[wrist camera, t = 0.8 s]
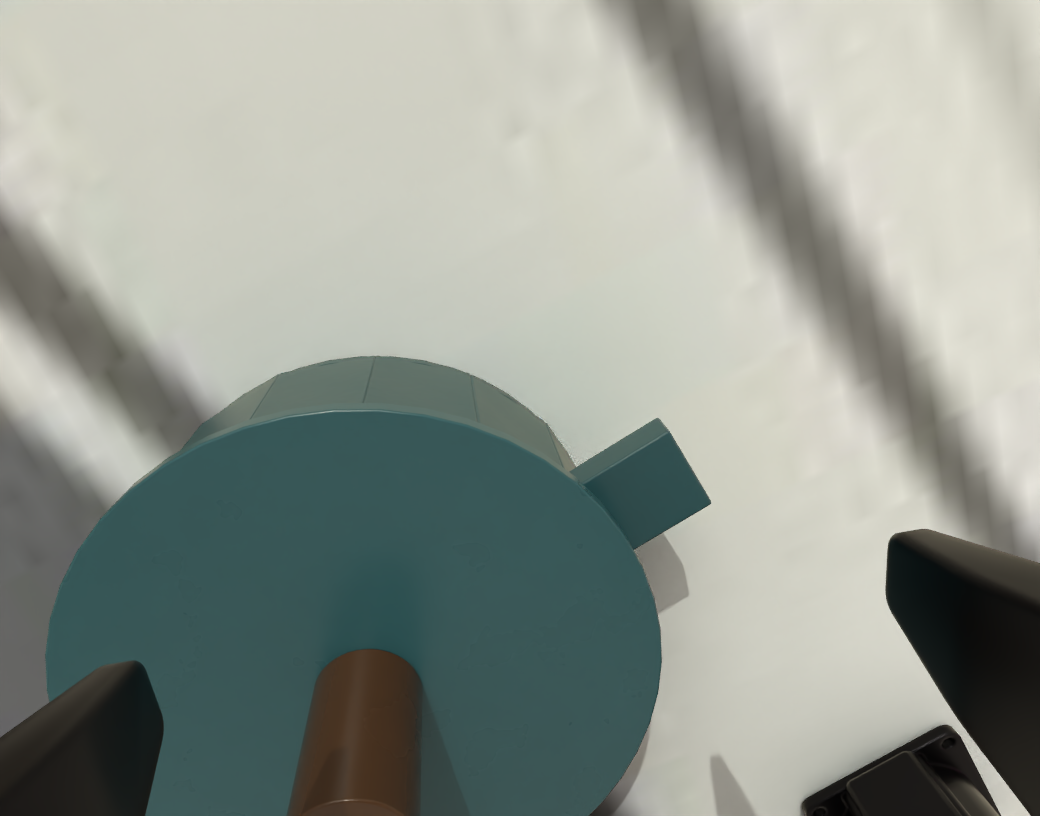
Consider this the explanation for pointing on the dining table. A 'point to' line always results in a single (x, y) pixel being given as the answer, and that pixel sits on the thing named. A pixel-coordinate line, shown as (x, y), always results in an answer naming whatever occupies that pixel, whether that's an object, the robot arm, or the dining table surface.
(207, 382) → the dining table surface
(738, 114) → the dining table surface
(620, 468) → the pan
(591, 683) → the lid
